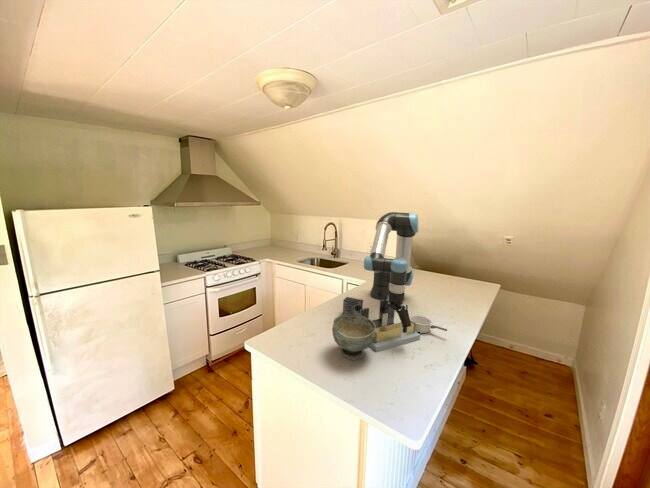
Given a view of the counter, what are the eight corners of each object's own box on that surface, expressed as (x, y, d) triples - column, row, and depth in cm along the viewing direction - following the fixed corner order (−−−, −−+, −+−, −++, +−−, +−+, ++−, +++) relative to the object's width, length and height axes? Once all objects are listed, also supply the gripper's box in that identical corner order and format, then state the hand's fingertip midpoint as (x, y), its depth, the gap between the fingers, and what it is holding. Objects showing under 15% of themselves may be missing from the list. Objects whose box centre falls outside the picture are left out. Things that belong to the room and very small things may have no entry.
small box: (362, 316, 163) (363, 299, 161) (359, 320, 157) (360, 303, 155) (346, 312, 167) (346, 296, 165) (342, 316, 161) (343, 299, 159)
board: (363, 341, 135) (363, 336, 134) (406, 330, 147) (406, 326, 147) (376, 352, 126) (376, 347, 125) (420, 339, 138) (420, 334, 138)
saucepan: (441, 343, 135) (442, 333, 134) (404, 328, 149) (405, 319, 148) (450, 335, 143) (451, 326, 142) (414, 322, 157) (415, 313, 156)
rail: (369, 339, 132) (369, 329, 131) (409, 329, 144) (410, 320, 143) (374, 343, 128) (375, 333, 127) (414, 332, 140) (415, 323, 139)
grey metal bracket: (351, 326, 149) (353, 305, 147) (386, 318, 160) (387, 298, 158) (359, 332, 143) (360, 310, 141) (394, 323, 154) (396, 303, 152)
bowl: (343, 372, 111) (345, 338, 108) (324, 347, 128) (325, 317, 125) (383, 361, 119) (385, 330, 116) (360, 339, 136) (362, 311, 133)
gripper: (374, 284, 141) (372, 321, 145) (409, 302, 119) (405, 345, 123) (386, 282, 144) (383, 319, 148) (421, 299, 122) (417, 342, 127)
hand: (393, 331), depth 136 cm, fingers open, 13 cm apart
